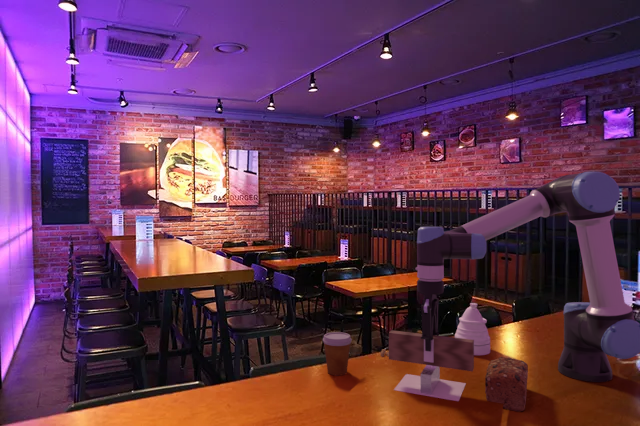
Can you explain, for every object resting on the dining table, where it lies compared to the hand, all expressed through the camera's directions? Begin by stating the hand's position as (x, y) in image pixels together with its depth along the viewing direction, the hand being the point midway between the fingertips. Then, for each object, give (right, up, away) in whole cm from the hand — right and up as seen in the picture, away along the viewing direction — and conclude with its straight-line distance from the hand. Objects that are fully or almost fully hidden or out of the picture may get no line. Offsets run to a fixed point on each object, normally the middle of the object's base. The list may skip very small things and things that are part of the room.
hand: (430, 359), depth 130 cm
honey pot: (+26, -10, +40) cm, 48 cm away
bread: (+21, -10, -4) cm, 23 cm away
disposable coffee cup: (-27, -10, +16) cm, 33 cm away
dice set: (-8, -10, +33) cm, 36 cm away
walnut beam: (0, -1, 0) cm, 1 cm away
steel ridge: (0, -8, 0) cm, 8 cm away
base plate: (0, -9, 0) cm, 9 cm away
